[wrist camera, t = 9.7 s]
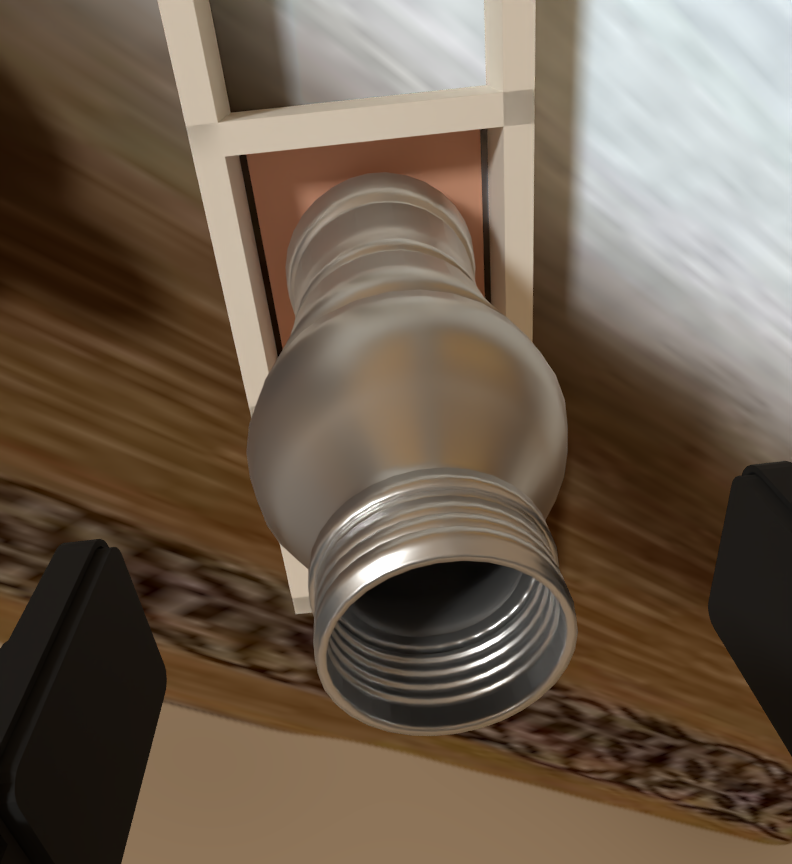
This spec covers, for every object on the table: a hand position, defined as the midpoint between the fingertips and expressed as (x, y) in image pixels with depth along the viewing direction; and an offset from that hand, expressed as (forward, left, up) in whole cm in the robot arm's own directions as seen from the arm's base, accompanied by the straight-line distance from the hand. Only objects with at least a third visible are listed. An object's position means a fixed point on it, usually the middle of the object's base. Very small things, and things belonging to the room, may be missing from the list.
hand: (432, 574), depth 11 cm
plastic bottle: (0, 0, -19) cm, 19 cm away
